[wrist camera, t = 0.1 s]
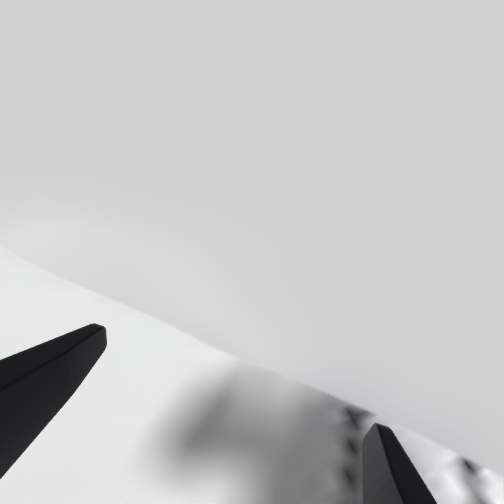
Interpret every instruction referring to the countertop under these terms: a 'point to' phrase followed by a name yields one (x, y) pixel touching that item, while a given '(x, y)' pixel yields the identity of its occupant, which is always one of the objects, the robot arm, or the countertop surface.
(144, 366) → the countertop surface
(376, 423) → the robot arm
